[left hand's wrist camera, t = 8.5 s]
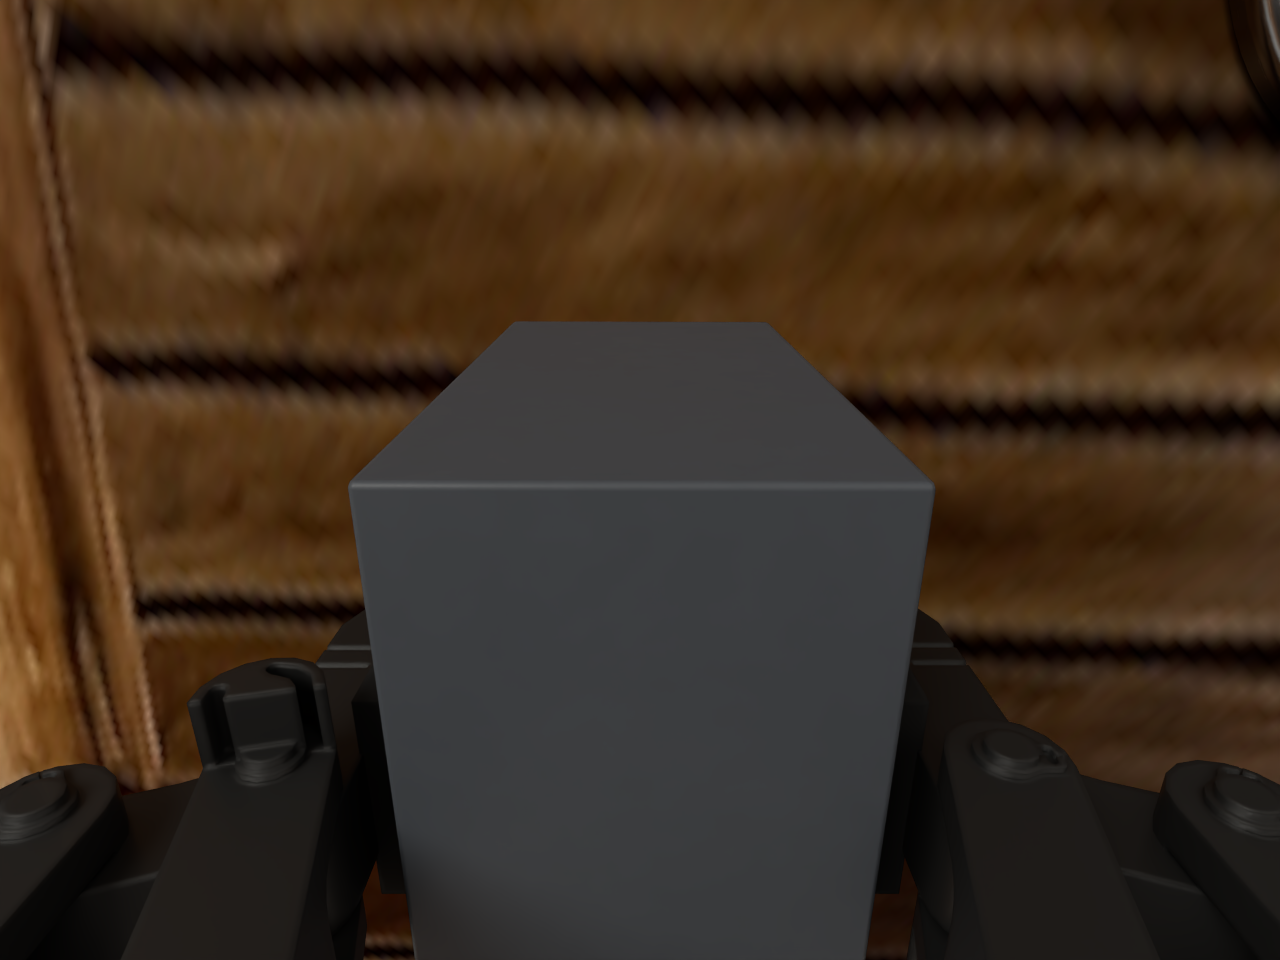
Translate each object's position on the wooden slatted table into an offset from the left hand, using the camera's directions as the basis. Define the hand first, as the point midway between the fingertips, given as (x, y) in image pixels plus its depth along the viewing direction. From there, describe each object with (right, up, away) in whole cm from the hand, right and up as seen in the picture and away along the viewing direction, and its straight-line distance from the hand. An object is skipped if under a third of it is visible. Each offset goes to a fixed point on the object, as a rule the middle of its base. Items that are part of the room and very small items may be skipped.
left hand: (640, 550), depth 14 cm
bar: (0, -8, +3) cm, 8 cm away
